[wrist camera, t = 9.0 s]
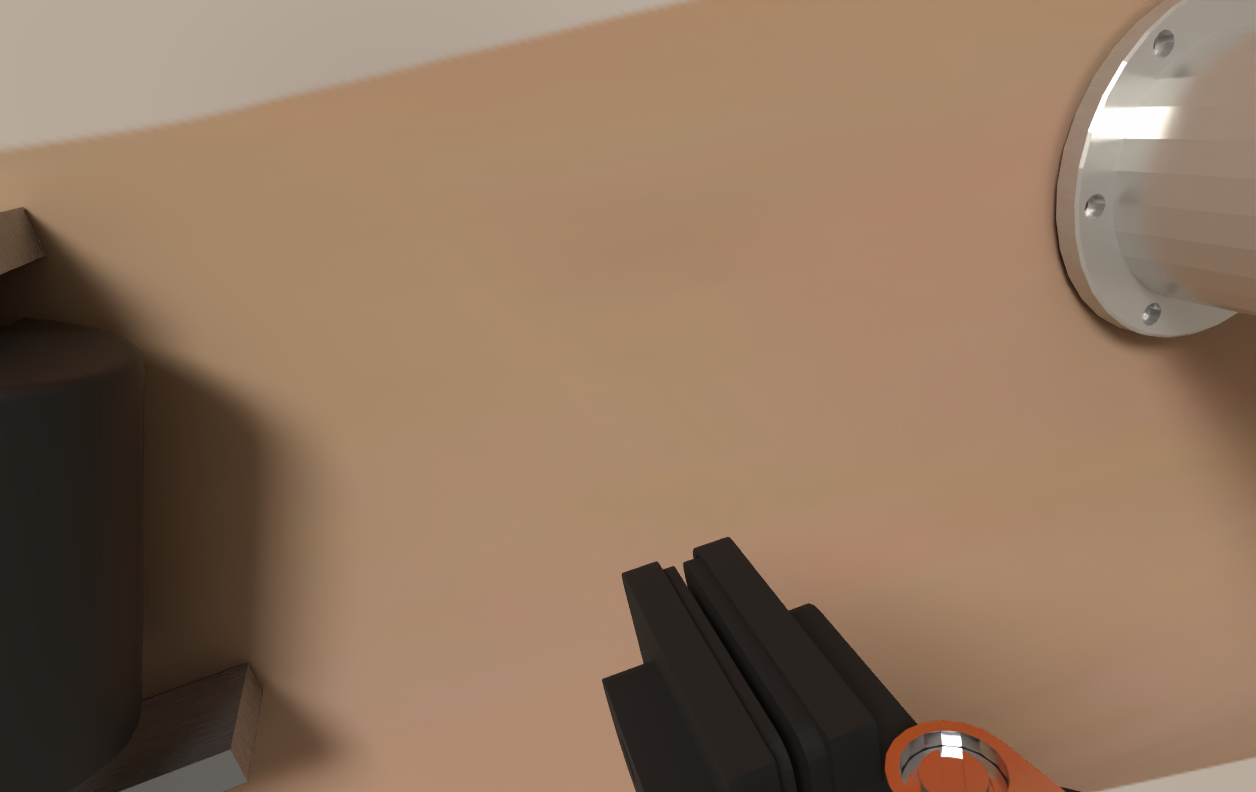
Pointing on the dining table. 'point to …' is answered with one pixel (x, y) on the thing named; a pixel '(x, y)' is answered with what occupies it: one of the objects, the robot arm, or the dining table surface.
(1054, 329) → the dining table surface
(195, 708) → the steel cradle
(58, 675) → the end cap
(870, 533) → the dining table surface
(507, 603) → the dining table surface
